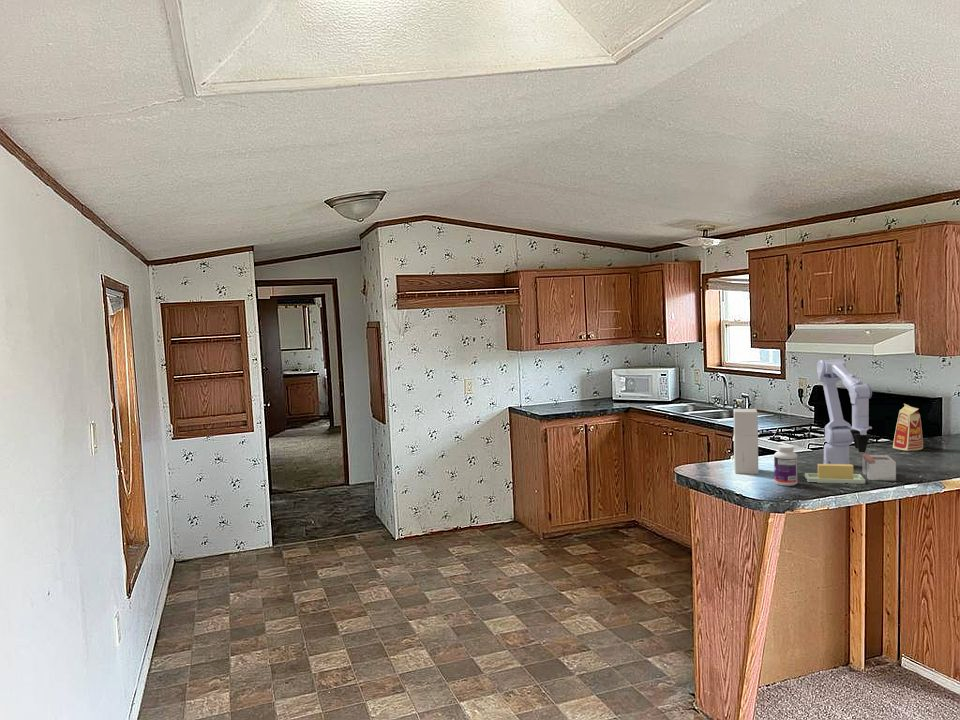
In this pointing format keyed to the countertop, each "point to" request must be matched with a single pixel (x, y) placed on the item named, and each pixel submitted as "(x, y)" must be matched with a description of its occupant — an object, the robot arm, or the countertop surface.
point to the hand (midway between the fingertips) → (860, 450)
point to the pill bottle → (785, 466)
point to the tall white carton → (746, 441)
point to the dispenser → (878, 467)
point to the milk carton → (908, 430)
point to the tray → (856, 479)
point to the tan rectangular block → (835, 471)
